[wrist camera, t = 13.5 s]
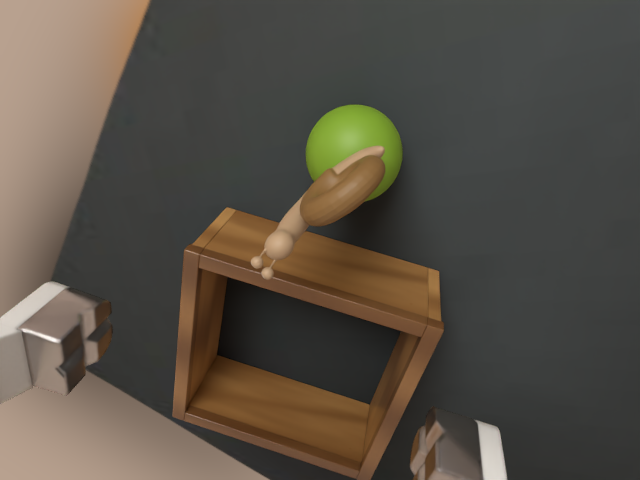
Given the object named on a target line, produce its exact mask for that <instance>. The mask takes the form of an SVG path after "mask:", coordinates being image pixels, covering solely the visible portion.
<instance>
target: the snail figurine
mask: <svg viewBox="0 0 640 480" xmlns="http://www.w3.org/2000/svg"><path fill="white" fill-rule="evenodd" d="M402 155H403V151H402V143H401V139H400V136H399V133H398V131H397V129H396V128H395V126H394V125H393V123H392V122H391V121H390V120H389V119H388V118H387V117H386V116H385V115H384V114H383V113H381V112H379V111H378V110H376V109H374V108H371V107H368V106H364V105H346V106H341V107H338V108H336V109H334V110H332V111H330V112H328V113H327V114H326V115H324V116H323V117H322V118H321V119H320V120H319V121H318V122H317V123H316V125H315V126H314V128H313V129H312V131H311V133H310V135H309V138H308V141H307V146H306V163H307V167H308V171H309V173H310V176H311V178H312V179H313V181H314V183H313V184H312V185H311V186H310V188H309V189H308V190H307V191H306V192H305V194H304V195H303V196H302V197H301V198H300V199H299V200H298V201H297V203H296V204H295V205H294V206H293V207H292V208H291V209H290V210H289V211H288V212H287V213H286V215H285V216H284V217H283V219H282V220H281V222H280V224H279V225H278V227H277V229H276V231H275V232H273V233H272V234H271V235H270V236H269V237H268V238H267V240H266V242H265V245H264V250H263V252H262V253H261V255H260V256H255V257H253V258H252V259H251V265H252V266H253V267H254V268H256V269H259V268H261V267H262V266H263V259H262V258H261V257H262V255H263V254H264V253H266V255H267V256H268V257H269V258H271V259H273V260H274V261H273V262H272V264H271V266H270V267H266V268H264V269H263V270H262V272H261V274H262V276H263V278H264V279H267V280H269V279H271V278H272V277H273V275H274V272H273V270H272V269H271V268H272V266H273V264H274V263H275V262H276V261H277V260H282V259H285V258H286V257H288V256H289V255H290V254H291V253H292V251H293V249H294V244H295V242H296V241H297V240H298V239H299V238H300V237H301V236H302V234H303V233H304V232H305V231H306V229H307V228H308V226H309V225H312V226H324V225H328V224H330V223H333V222H335V221H337V220H339V219H340V218H342V217H344V216H346V215H347V214H349V213H350V212H352V211H353V210H355V209H356V208H357V207H359V206H360V205H361V204H362V203H363V202H365V201H368V200H371V199H373V198H375V197H377V196H379V195H381V194H382V193H383V192H385V191H386V190H387V189H388V188H389V187H390V186H391V184H392V183H393V182H394V180H395V179H396V177H397V175H398V173H399V170H400V167H401V163H402Z"/></svg>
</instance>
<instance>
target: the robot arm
mask: <svg viewBox="0 0 640 480" xmlns="http://www.w3.org/2000/svg"><path fill="white" fill-rule="evenodd" d="M111 313H112V310H111V302H109V301H107V300H105V299H102V298H100V297H97V296H94V295H91V294H88V293H86V292H83V291H80V290H77V289H74V288H72V287H68V286H65V285H62V284H59V283H57V282H54V281H51V282H48V283H45V284H43V285H42V286H41V287H39V288H38V289H37V290H35V291H34V292H33V293H32V294H30V295H29V296H28V297H26V298H25V299H24V300H22V301H21V302H20V303H19V304H17V305H16V306H15V307H14V308H12V309H11V310H9V311H8V312H7V313H6V314H4V315H3V316H2V317H1V318H0V404H1V403H3V402H5V401H7V400H9V399H11V398H13V397H15V396H17V395H19V394H21V393H23V392H25V391H27V390H29V389H31V388H33V386H35V387H39V388H42V389H45V390H48V391H51V392H55V393H58V394H61V395H64V396H67V395H68V394H69V393H70V392H71V390H72V389H73V388H74V387H75V386H76V385H77V384H78V383H79V381H81V379H82V378H83V377H84V376H85V368H86V366H87V365H90V364H92V363H95V362H97V361H98V360H99V359H100V358H101V357H102V355H103V354H104V353H105V352H106V350H107V348H108V346H109V344H110V342H111V338H112V333H113V329H112V324H111V323H110V321H109V320H108V319H107V317H108V316H109V315H110V314H111ZM410 468H411V470H412V472H413V474H414V478H413V480H507V474H506V467H505V461H504V455H503V448H502V442H501V436H500V431H499V429H498V428H497V427H496V426H493V425H490V424H487V423H484V422H481V421H477V420H474V419H472V418H469V417H466V416H462V415H459V414H456V413H453V412H450V411H446V410H443V409H440V408H437V407H434V406H433V407H432V408H431V409H430V410H429V411H428V413H427V415H426V425H424V426H422V427H420V428H419V430H418V432H417V434H416V436H415V439H414V442H413V445H412V450H411V457H410Z"/></svg>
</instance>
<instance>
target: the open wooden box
mask: <svg viewBox="0 0 640 480" xmlns="http://www.w3.org/2000/svg"><path fill="white" fill-rule="evenodd" d="M279 224H280V223H278V222H275V221H271V220H268V219H265V218H261V217H258V216H255V215H251V214H248V213H245V212H241V211H238V210H235V209H231V208H228V207H226V209H225V210H224V211H223V212H222V213H221V214H220V215H219V216H218V217H217V218H216V219H215V220H214V222H213V223H212V224H211V225H210V226H209V227H208V228H207V229H206V230H205V231H204V232H203V233H202V234H201V236H200V237H199V238H198V239H197V240H196V241H195V242H194V243H193V244H189V245H188V246H187V247H186V248H185V250H184V260H183V274H182V288H181V302H180V317H179V331H178V345H177V359H176V374H175V388H174V402H173V417H175V418H178V419H181V420H184V421H186V422H189V423H192V424H195V425H198V426H201V427H204V428H207V429H210V430H213V431H216V432H219V433H222V434H225V435H228V436H231V437H234V438H237V439H240V440H243V441H245V442H248V443H251V444H254V445H257V446H260V447H263V448H266V449H269V450H272V451H275V452H278V453H281V454H284V455H287V456H290V457H293V458H296V459H299V460H302V461H305V462H308V463H311V464H314V465H316V466H319V467H322V468H325V469H328V470H331V471H334V472H337V473H340V474H343V475H346V476H349V477H352V478H355V479H358V480H371V478H372V476H373V474H374V471H375V469H376V467H377V465H378V463H379V461H380V459H381V457H382V455H383V453H384V451H385V449H386V447H387V445H388V443H389V441H390V439H391V437H392V435H393V433H394V431H395V429H396V427H397V425H398V423H399V421H400V419H401V417H402V415H403V413H404V411H405V409H406V407H407V405H408V403H409V401H410V399H411V396H412V394H413V392H414V390H415V388H416V386H417V384H418V382H419V380H420V378H421V376H422V374H423V372H424V370H425V368H426V366H427V364H428V362H429V360H430V358H431V356H432V354H433V352H434V350H435V348H436V346H437V344H438V342H439V340H440V338H441V336H442V334H443V332H444V322H442V321H441V307H440V284H439V271H437V270H434V269H430V268H427V267H424V266H420V265H417V264H414V263H411V262H407V261H404V260H401V259H397V258H394V257H391V256H387V255H384V254H381V253H377V252H374V251H371V250H367V249H364V248H361V247H357V246H354V245H351V244H348V243H344V242H341V241H338V240H334V239H331V238H328V237H324V236H321V235H318V234H314V233H311V232H308V231H305V232H304V233H303V234H302V236H301V237H300V238H299V239H298V240H297V241H296V242H295V244H294V249H293V251H292V253H291V254H290V255H289V256H288V257H286V258H285V259H282V260H277V261H276V262H275V263H274V264H273V266H272V268H271V269H272V270H273V272H274V275H273V277H272V278H271V279H269V280H267V279H264V278H263V276H262V274H261V272H262V270H263V269H264V268H266V267H270V266H271V264H272V262H273V261H274V260H273V259H271V258H269V257H268V256H267V255H266V253H264V254H263V255H262V257H261V258H262V259H263V266H262V267H261V268H259V269H256V268H254V267H253V266H252V265H251V259H252V258H253V257H255V256H260V255H261V253H262V252H263V250H264V245H265V242H266V240H267V238H268V237H269V236H270V235H271V234H272V233H273V232H275V231H276V229H277V227H278V225H279ZM228 277H230V278H233V279H236V280H239V281H243V282H246V283H249V284H252V285H255V286H259V287H262V288H265V289H268V290H271V291H275V292H278V293H281V294H284V295H287V296H291V297H294V298H297V299H300V300H303V301H307V302H310V303H313V304H316V305H319V306H323V307H326V308H329V309H332V310H335V311H339V312H342V313H345V314H348V315H351V316H355V317H358V318H361V319H364V320H367V321H371V322H374V323H377V324H380V325H383V326H387V327H390V328H393V329H396V330H399V331H401V333H400V335H399V338H398V340H397V342H396V345H395V347H394V349H393V352H392V354H391V356H390V359H389V361H388V363H387V366H386V368H385V370H384V373H383V375H382V377H381V380H380V382H379V385H378V387H377V389H376V392H375V394H374V396H373V399H372V401H371V403H370V405H369V404H366V403H363V402H360V401H357V400H354V399H351V398H348V397H345V396H342V395H338V394H335V393H332V392H329V391H326V390H323V389H320V388H317V387H314V386H311V385H308V384H305V383H302V382H299V381H296V380H292V379H289V378H286V377H283V376H280V375H277V374H274V373H271V372H268V371H265V370H262V369H259V368H256V367H253V366H249V365H246V364H243V363H240V362H237V361H234V360H231V359H228V358H225V357H222V356H219V355H217V351H218V344H219V337H220V329H221V322H222V315H223V308H224V300H225V293H226V286H227V278H228Z"/></svg>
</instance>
